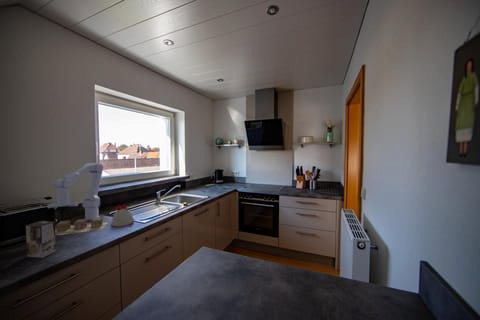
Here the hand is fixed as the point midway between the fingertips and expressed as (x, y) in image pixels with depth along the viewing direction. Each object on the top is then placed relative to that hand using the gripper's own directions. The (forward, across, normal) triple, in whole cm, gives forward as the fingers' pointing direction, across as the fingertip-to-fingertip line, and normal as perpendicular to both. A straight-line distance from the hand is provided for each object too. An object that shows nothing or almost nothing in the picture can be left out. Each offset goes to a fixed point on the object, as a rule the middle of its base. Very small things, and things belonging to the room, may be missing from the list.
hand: (63, 217), depth 118 cm
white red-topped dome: (+10, +33, +1) cm, 34 cm away
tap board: (+9, +9, 0) cm, 13 cm away
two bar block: (+8, +18, 0) cm, 20 cm away
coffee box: (+9, +3, -29) cm, 31 cm away
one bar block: (+8, +9, 0) cm, 12 cm away
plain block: (+8, 0, 0) cm, 8 cm away
